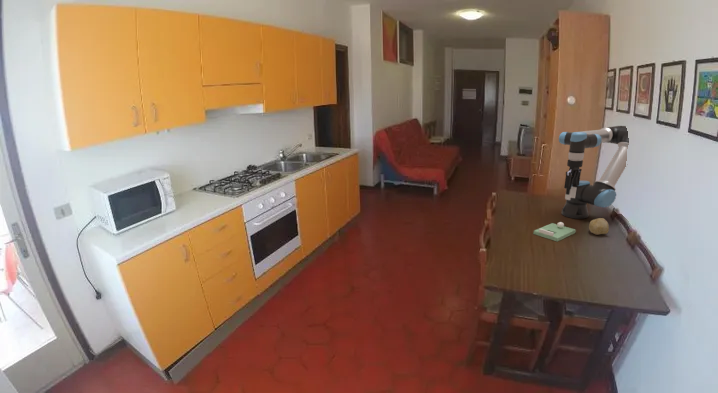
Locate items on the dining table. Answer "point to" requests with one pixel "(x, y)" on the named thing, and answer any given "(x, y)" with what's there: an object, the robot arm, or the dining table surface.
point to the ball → (560, 224)
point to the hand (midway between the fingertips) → (569, 198)
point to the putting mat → (554, 232)
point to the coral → (599, 226)
